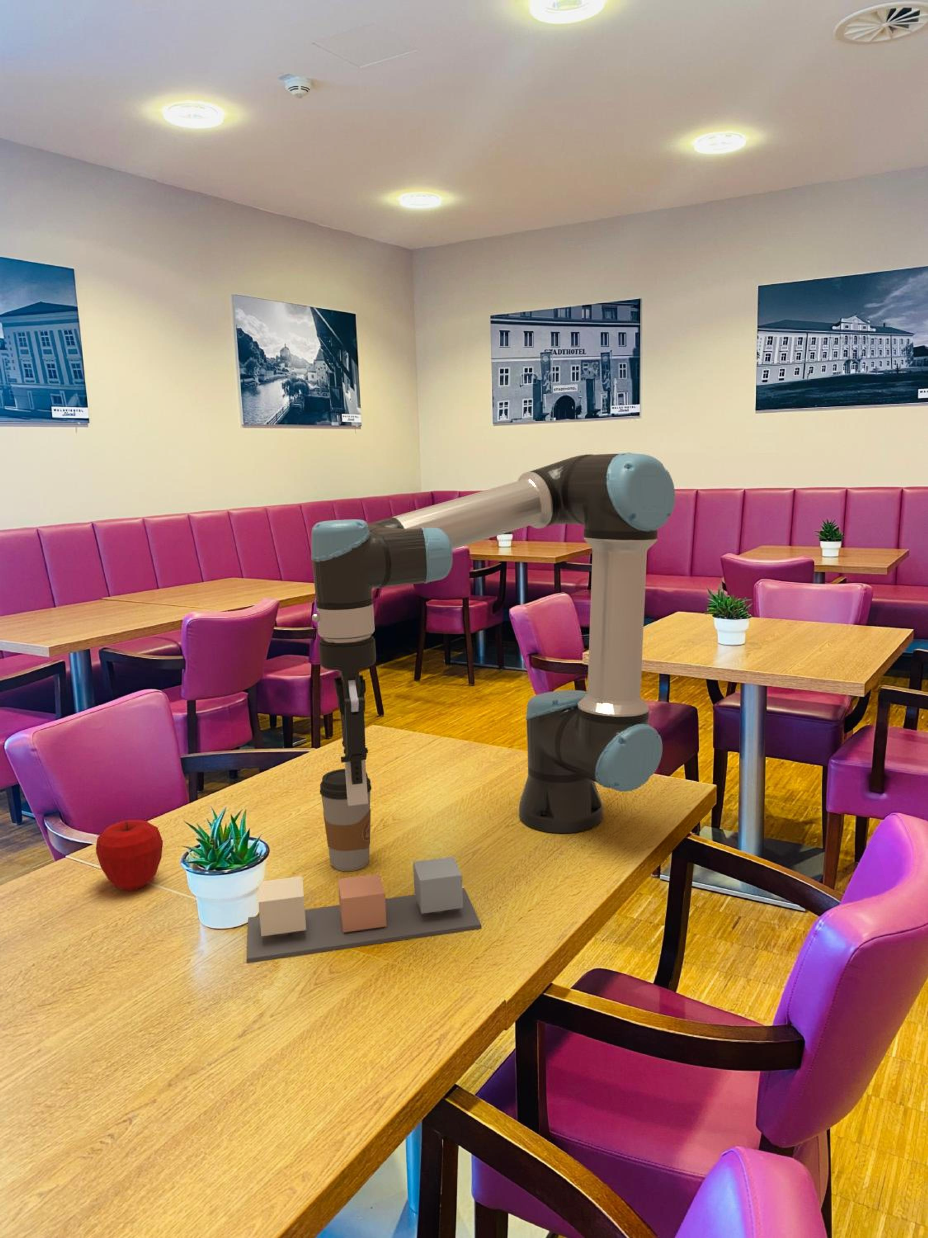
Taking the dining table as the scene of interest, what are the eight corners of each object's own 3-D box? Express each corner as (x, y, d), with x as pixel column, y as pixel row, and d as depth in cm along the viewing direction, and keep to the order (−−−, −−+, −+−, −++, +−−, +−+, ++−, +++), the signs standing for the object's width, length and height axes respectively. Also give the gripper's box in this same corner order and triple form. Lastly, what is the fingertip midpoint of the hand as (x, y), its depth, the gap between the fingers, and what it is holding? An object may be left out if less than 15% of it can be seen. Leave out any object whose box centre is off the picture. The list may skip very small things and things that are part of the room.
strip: (464, 891, 134) (463, 879, 134) (481, 928, 123) (480, 915, 123) (248, 921, 127) (247, 908, 127) (246, 963, 117) (245, 949, 116)
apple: (179, 877, 142) (172, 813, 140) (134, 905, 133) (126, 837, 131) (133, 867, 146) (126, 804, 144) (86, 893, 137) (79, 827, 135)
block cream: (304, 908, 126) (302, 876, 125) (306, 930, 120) (303, 896, 119) (261, 914, 125) (258, 881, 124) (261, 936, 119) (258, 902, 118)
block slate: (454, 888, 131) (453, 856, 130) (463, 907, 125) (462, 875, 124) (414, 893, 129) (413, 862, 129) (421, 913, 124) (419, 880, 123)
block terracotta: (381, 905, 129) (379, 873, 128) (386, 926, 123) (384, 893, 122) (339, 911, 127) (337, 879, 127) (343, 932, 122) (341, 899, 121)
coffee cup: (366, 876, 140) (361, 787, 137) (316, 873, 141) (311, 784, 139) (381, 853, 148) (377, 768, 145) (334, 850, 149) (329, 766, 147)
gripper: (315, 629, 123) (327, 789, 128) (321, 649, 111) (334, 825, 115) (368, 625, 125) (378, 782, 129) (380, 644, 112) (391, 817, 117)
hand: (357, 802), depth 122 cm, fingers closed
